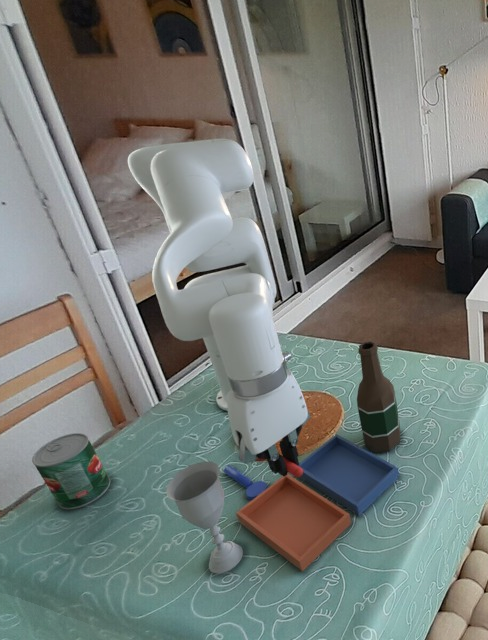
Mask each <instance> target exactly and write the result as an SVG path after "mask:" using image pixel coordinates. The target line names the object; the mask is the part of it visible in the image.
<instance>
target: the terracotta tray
mask: <svg viewBox="0 0 488 640" xmlns="http://www.w3.org/2000/svg"><path fill="white" fill-rule="evenodd" d="M267 487H268V488H267V489H266V490H265V491H263V492H262V493H261V494H259V495H258V496H257V497H256V498H254V499H253V500H249V502H247V504H245V505H244V506H243V507H242V508H240V509H238V510H237V511H236V512H235V515H236V517H237V520H238V523H239V524H240V525H242V526H244V527H245V528H246V529H247V530H249V532H251V533H252V534H253V535H255V536H256V537H257V538H259V539H260V540H261V541H262V542H264V543H265V544H266V545H268V546H269V547H270V548H271V549H273V550H274V551H275V552H277V553H278V554H279V555H280V556H282V557H283V558H285V559H286V560H287V561H288V562H289V563H291V564H292V565H293V566H295V567H296V568H297V569H299V570H300V571H301V572H304V571H305V570H307V568H308V567H309V566H310V565H311V564H312V563H313V562H314V561H315V560H316V559H318V557H319V556H320V555H321V554H322V553H323V552H324V551H326V549H327V548H328V547H330V545H331V544H332V543H333V542H334V541H336V539H337V538H338V537H339V536H341V534H342V533H344V532H345V531H346V530H347V528H349V527H350V526H351V525H352V520H351V515H350V513H348V512H347V511H345V510H344V509H343V508H341V507H339V506H338V505H336V504H335V503H333V502H332V501H330V500H328V499H327V498H325V497H324V496H323V495H321V494H319V493H317V492H316V491H315V490H313V489H312V488H310V487H309V486H307V485H305V484H304V483H302V482H300V481H299V480H298V479H296V477H294V476H292V475H291V474H289V473H287V475H286V476H285V477H283V476H282V475H281V477H280V478H278V479H277V480H276V481H275V482H273V483H272V484H271V485H270V486H267Z"/></svg>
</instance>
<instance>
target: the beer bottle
mask: <svg viewBox="0 0 488 640" xmlns="http://www.w3.org/2000/svg"><path fill="white" fill-rule="evenodd" d="M378 347H379V346H378V344H377V343H376V342H374V341H364V342H362V343H361V344H359V346H358V352H357V353H358V355H360V365H361V374H362V375H361V376H362V379H361V381H360V382H359V384H358V389H357V395H356V406H357V411H358V416H359V422H360V426H361V433H362V437H363V441H364V445H365V448H367V449H368V450H370V451H372V452H373V453H375V454H380V453H386V452H390V451H392V450H393V449H394V448H396V446H398V445H399V444H400V443H401V424H400V418H399V411H398V410H399V409H398V405H397V404H398V403H397V398H396V391H395V387H394V385H393V383H392V382H391V380H390V379H389V378H387V377H386V376H385V375H384V373H383V370H382V367H381V366H382V365H381V362H380V358H379V354H378V353H379V352H378V349H379V348H378Z"/></svg>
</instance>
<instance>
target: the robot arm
mask: <svg viewBox="0 0 488 640" xmlns="http://www.w3.org/2000/svg"><path fill="white" fill-rule="evenodd" d="M127 166H128V168H129V171H130V173H131V175H132V177H133V178H134V179H135V181H136V182H137V184H138V185H139V186H140V187H141V188H142V189H143V190H144V192H145V193H147V195H149V197H151V199H152V200H153V201H154V202H155V203H156V204H157V206H158V207H159V208H160V210H161V212H162V214H163V216H164V219H165V222H166V226H167V228H168V231H169V234H168V236H167V237H166V238H165V239H164V241H163V243H162V244H161V246H160V247H159V249H158V250H157V254H156V256H155V258H154V261H153V265H152V273H151V279H152V284H153V289H154V292H155V296H156V298H157V302H158V304H159V305H158V306H159V307H160V311H161V314H162V318H163V320H164V323H165V325H166V327H167V329H168V331H169V333H170V334H171V335H172V336H173V337H174V338H176V339H178V340H179V341H183V342H192V341H197V340H201V339H203V342H204V345H205V348H206V351H207V355H208V356H209V359H210V363H211V365H212V368H213V371H214V374H215V377H216V380H217V382H218V385H219V389H220V390H219V391H218V392H217V395H216V397H215V401H216V403H217V407H219V409H221V410H223V411H226V412H227V415H228V422H229V426H230V430H231V434H232V438H233V440H234V442H235V444H236V446H238V447H239V454H238V460H239V461H241V463H243V464H249V463H251V462H254V461H255V460H256V459H258V458H259V459H266V461H267V464H268V468H269V469H270V471H271V472H272V473H273V474H276V475H277V474H279V475H281V477H282V476H283V477H285V476H286V475H287V474H289V473H288V472H287V468H286V464H285V461H284V458H283V457H285V458H286V459H288V460H289V461H291V462H293V463H294V464H296V465H297V466H299V463H300V462H299V451H298V448H297V445H298V443H299V438H298V437H299V435H300V433H301V431H302V429H303V427H304V426H305V424H306V423H307V422H308V421H309V420H310V418H312V417H311V416H312V415H311V413H309V411H308V406H307V403H306V400H305V397H304V395H303V392H302V389H301V387H300V384H299V382H298V381H297V379H296V377H295V376H294V374H293V372H292V371H291V370H290V369H289V368H288V365H287V363H288V362H289V361H290V360H291V359H292V354H291V353H290V352H289V351H285V352H282V347H281V344H280V340H279V336H278V332H277V327H276V323H275V321H274V311H273V309H274V306H275V303H276V302H275V301H276V300H275V299H276V297H277V285H276V281H275V277H274V273H273V268H272V265H271V261H270V258H269V254H268V251H267V247H266V243H265V239H264V237H263V234H262V231H261V229H260V227H259V225H258V224H257V223H256V222H255V221H254V220H253V219H252V218H249V217H245V216H242V217H241V216H239V217H232V215H231V213H230V210H229V207H228V205H227V203H226V201H225V197H224V196H223V193H229V192H235V191H241V190H246V189H249V188H251V186H252V185H253V184H254V178H255V176H254V175H255V174H254V168H253V165H252V162H251V160H250V158H249V155H248V154H247V152H246V151H245V149H244V148H243V147H242V146H241V144H239V143H238V142H237V141H235V140H233V139H230V138H224V137H222V138H210V139H201V140H193V141H182V142H171V143H164V144H157V145H150V146H145V147H141V148H138V149H135V150H134V151H132V152H131V153H130V154H128V157H127ZM239 264H245V265H241V266H237V267H233V268H229V269H223V270H220V271H215V272H211V273H207V274H203V275H201V276H197V277H195V278H193V279H191V280H189V281H188V282H187V284H185V286H184V288H182V289H178V286H177V285H178V284H177V281H178V278H179V276H180V274H181V272H183V270H184V269H186V270H187V271H189V272H193V273H200V272H207V271H208V272H209V271H212V270H217V269H222V268H225V267H230V266H234V265H239ZM276 443H279V444H278V445H279V449H280V452H281V453H279V452H278V448H277V446H276Z"/></svg>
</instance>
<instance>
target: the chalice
mask: <svg viewBox="0 0 488 640" xmlns="http://www.w3.org/2000/svg"><path fill="white" fill-rule="evenodd" d="M220 473H221V472H220V467H219V465H218V464H217V463H216V462H214V461H209V460H208V461H199V462H196V463H193V464H190V465H188V466H187V467H185V468H183V469H181V470H180V471H179V472H178V473H176V474H175V475H174V476H173V477H172V478H171V480H170V481H169V483H168V485H167V486H166V495H167V498H168V499H170V500H172V501H174V502H175V503H174V504H176V507H177V510H178V512H179V514H180V516H181V517H182V519H183V520H185V521H186V522H188V523H189V524H191V525H193V526H195V527H197V528H200V529H203V530H209V534H208V535H209V536H210V537H213V538H212V540H211V543H212V545H216V546H215V547H214V548H213V549H212V551H211V553H210V558H209V563H208V569H209V571H210V572H211V573H213V574H219V575H220V574H223V573H227V572H229V571H231V570H232V569H234V568H235V567H236V566H237V565H238V564H239V563H240V561H241V560H242V559H243V556H244V549H243V547H242V546H241V545H239V544H237V543H235V542H233V541H231V540H227V541H224V540H225V534H223V533H220V532H221V527H220V526H218V525H217V524H218V523H219V522H220V520H221V518H222V517H221V516H222V513H223V509H224V506H225V490H224V487H223V485H222V483H221V480H220V477H219V476H220Z"/></svg>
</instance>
